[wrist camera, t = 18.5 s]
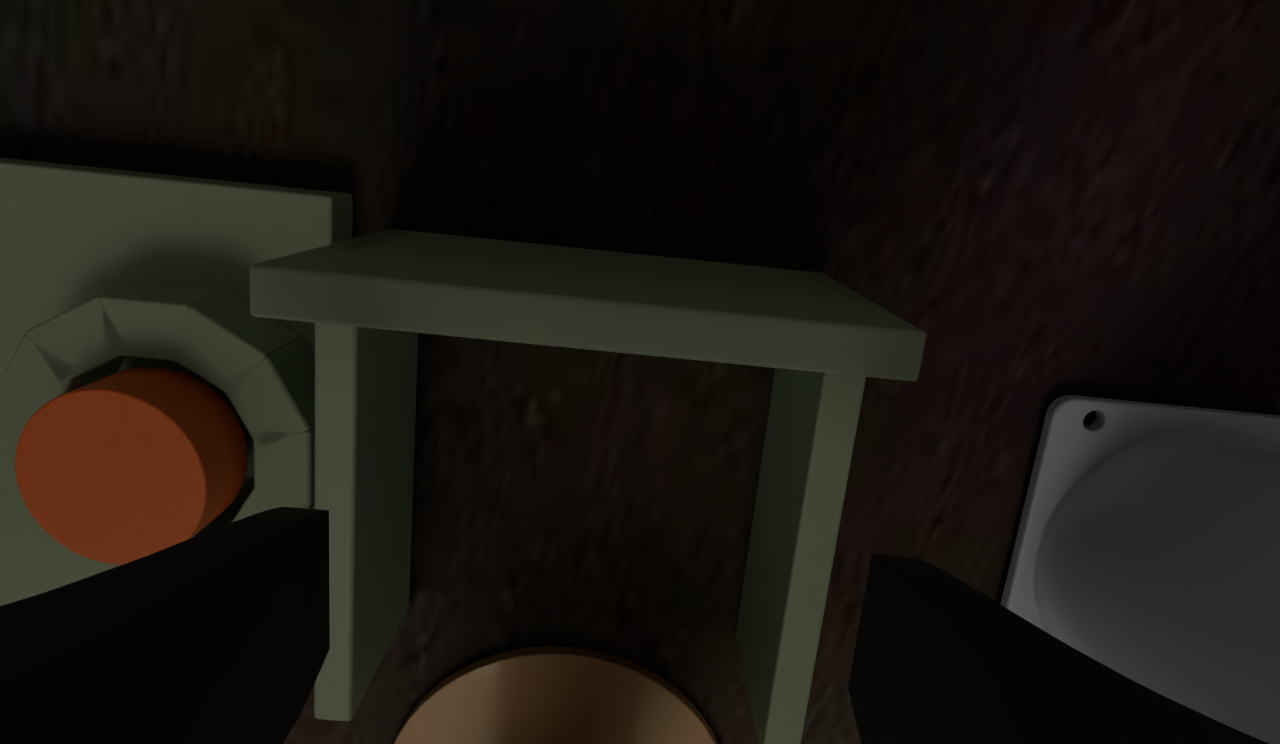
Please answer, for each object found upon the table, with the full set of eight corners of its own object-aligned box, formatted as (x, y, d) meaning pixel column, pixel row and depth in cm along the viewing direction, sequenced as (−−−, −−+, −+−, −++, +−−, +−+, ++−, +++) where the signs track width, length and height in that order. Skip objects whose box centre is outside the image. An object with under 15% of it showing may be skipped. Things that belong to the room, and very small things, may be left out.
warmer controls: (364, 194, 18) (310, 200, 15) (357, 620, 21) (310, 699, 18) (-48, 152, 18) (-189, 149, 15) (-1, 589, 21) (-113, 663, 18)
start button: (247, 374, 17) (203, 399, 15) (250, 534, 17) (209, 574, 16) (69, 357, 16) (5, 379, 15) (82, 519, 17) (22, 557, 16)
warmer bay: (823, 272, 19) (929, 332, 12) (764, 638, 21) (825, 860, 15) (388, 228, 19) (246, 263, 12) (379, 605, 21) (257, 815, 14)
